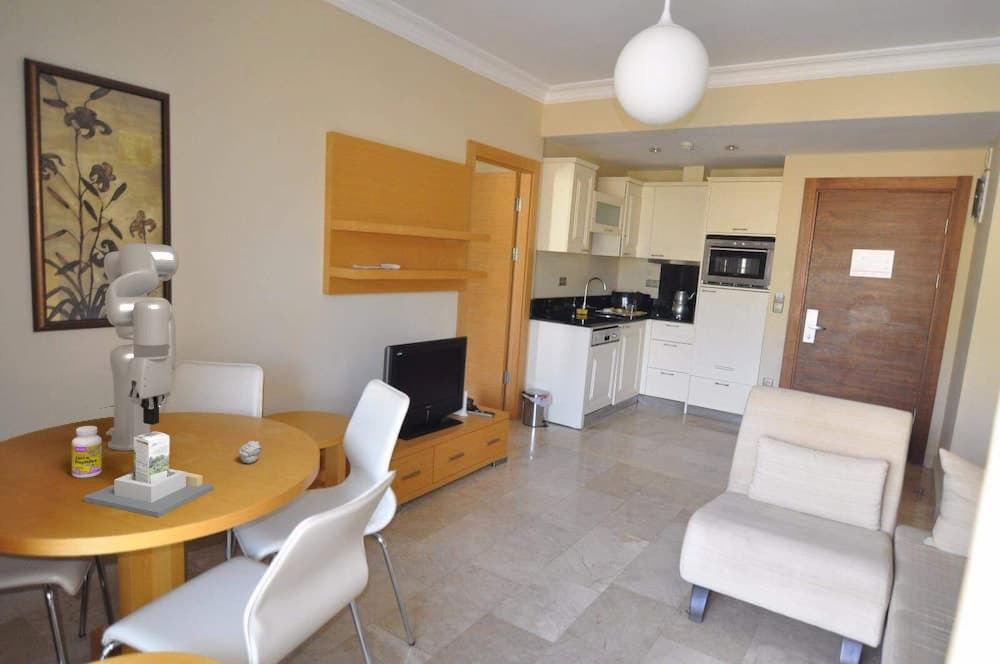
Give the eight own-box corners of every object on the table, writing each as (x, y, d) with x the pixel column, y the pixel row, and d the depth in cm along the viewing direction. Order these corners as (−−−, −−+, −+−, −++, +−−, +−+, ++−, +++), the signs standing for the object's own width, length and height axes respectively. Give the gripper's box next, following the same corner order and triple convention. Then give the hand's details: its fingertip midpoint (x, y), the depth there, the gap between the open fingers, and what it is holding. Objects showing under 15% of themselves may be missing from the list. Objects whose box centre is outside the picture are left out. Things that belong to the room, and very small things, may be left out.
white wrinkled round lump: (250, 468, 171) (250, 445, 170) (233, 463, 174) (233, 440, 173) (266, 462, 177) (267, 440, 176) (249, 457, 180) (250, 435, 179)
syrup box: (154, 484, 153) (154, 430, 151) (169, 489, 151) (170, 434, 149) (132, 491, 148) (132, 435, 146) (148, 496, 146) (148, 440, 144)
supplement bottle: (69, 480, 154) (68, 432, 153) (74, 471, 160) (73, 425, 159) (100, 477, 158) (99, 431, 156) (103, 468, 163) (103, 423, 162)
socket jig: (83, 501, 143) (83, 480, 142) (144, 476, 160) (144, 457, 160) (158, 517, 138) (158, 496, 137) (213, 489, 155) (213, 470, 155)
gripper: (162, 345, 152) (162, 414, 155) (112, 353, 138) (112, 429, 140) (187, 348, 151) (186, 418, 153) (138, 356, 136) (138, 433, 138)
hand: (151, 423), depth 147 cm, fingers closed
